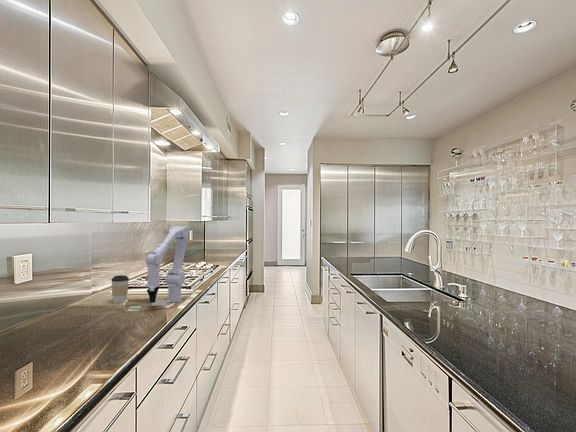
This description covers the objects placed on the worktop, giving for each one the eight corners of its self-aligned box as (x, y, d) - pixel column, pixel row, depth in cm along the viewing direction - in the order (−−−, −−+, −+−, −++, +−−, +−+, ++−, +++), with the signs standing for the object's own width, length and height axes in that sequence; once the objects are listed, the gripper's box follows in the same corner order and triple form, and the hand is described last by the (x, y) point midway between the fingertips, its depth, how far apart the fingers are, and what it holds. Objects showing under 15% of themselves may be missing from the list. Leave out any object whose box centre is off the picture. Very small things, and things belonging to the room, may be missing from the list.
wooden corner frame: (126, 305, 179) (126, 299, 179) (153, 304, 183) (153, 298, 183) (121, 312, 167) (121, 305, 167) (150, 310, 171) (151, 304, 171)
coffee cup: (111, 300, 189) (112, 274, 189) (128, 299, 193) (129, 273, 193) (110, 304, 181) (110, 277, 181) (128, 302, 184) (128, 276, 185)
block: (151, 305, 173) (152, 294, 173) (152, 303, 177) (153, 292, 177) (165, 305, 175) (166, 294, 175) (166, 303, 179) (166, 292, 179)
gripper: (147, 274, 181) (146, 298, 181) (143, 279, 167) (143, 305, 167) (160, 273, 183) (160, 297, 183) (158, 278, 169) (157, 304, 169)
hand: (153, 301), depth 175 cm, fingers closed on block, 4 cm apart
